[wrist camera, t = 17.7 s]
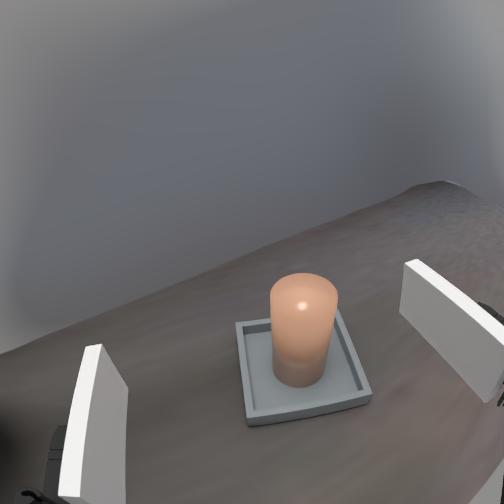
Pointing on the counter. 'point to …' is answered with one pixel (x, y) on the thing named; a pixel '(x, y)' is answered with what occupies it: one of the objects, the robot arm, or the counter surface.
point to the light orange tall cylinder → (301, 327)
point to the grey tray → (298, 399)
